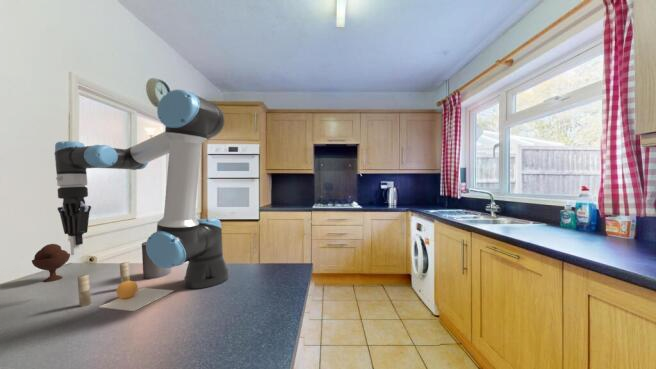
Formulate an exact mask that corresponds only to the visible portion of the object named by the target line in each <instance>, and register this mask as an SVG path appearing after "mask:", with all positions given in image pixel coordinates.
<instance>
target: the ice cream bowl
mask: <svg viewBox="0 0 656 369" xmlns="http://www.w3.org/2000/svg"><path fill="white" fill-rule="evenodd" d="M70 257H71V253H68V252H67V251H66V250H64V249H62V247H61V246H60V245H59V244H57V243H50V244H46V245H44V246H43V247H41V248H40V249H39V250H38V251H37V252H36V253H35V254H34V257H33V259H32V260H31V262H32V265H33V266H34V267H35V268H38V269H39V270H42V271H48V272H49V276H48V277H47V278H45V279H43V281H42V282H44V283H50V282H55V281H59V280H61V279H62V278H63V276H62V275H58V274H57V269H59V268H62V266H64V265H65V264H66V263H67V262H68V261H69V260H70Z"/></svg>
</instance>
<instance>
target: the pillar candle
mask: <svg viewBox="0 0 656 369" xmlns="http://www.w3.org/2000/svg"><path fill="white" fill-rule="evenodd" d="M146 242H147V241H145V242H142V243H141V257H142V278H144V279H147V280H151V279H158V278H159V279H160V278H161V277H165V276H168V275H169V274H171V272H172V268H162V267H159V266H157V265H156V264H154V263H153V262H152V260H151V259H150V258H149V256H148V254H147V251H146Z"/></svg>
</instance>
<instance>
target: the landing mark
mask: <svg viewBox="0 0 656 369" xmlns="http://www.w3.org/2000/svg"><path fill="white" fill-rule="evenodd" d="M173 292H175V289H174V290H173V289H161V288H160V289H159V288H149V287H148V288H147V287H141V288H139V289H137V292H136V293H135V294H134V295H133V296H132V297H130V298H127V299H123V298H120V297H118V298H116V299H114V300H111V301H109V302H107V303H104V304H102V305H99V306H98V308H101V309H110V310H120V311H129V312H135V311H137V310H139V309H141V308H143V307H144V306H147V305H149V304H151V303H153V302H155V301H156V300H159V299H161V298H164V297H165V296H167V295H169V294H171V293H173Z"/></svg>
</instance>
